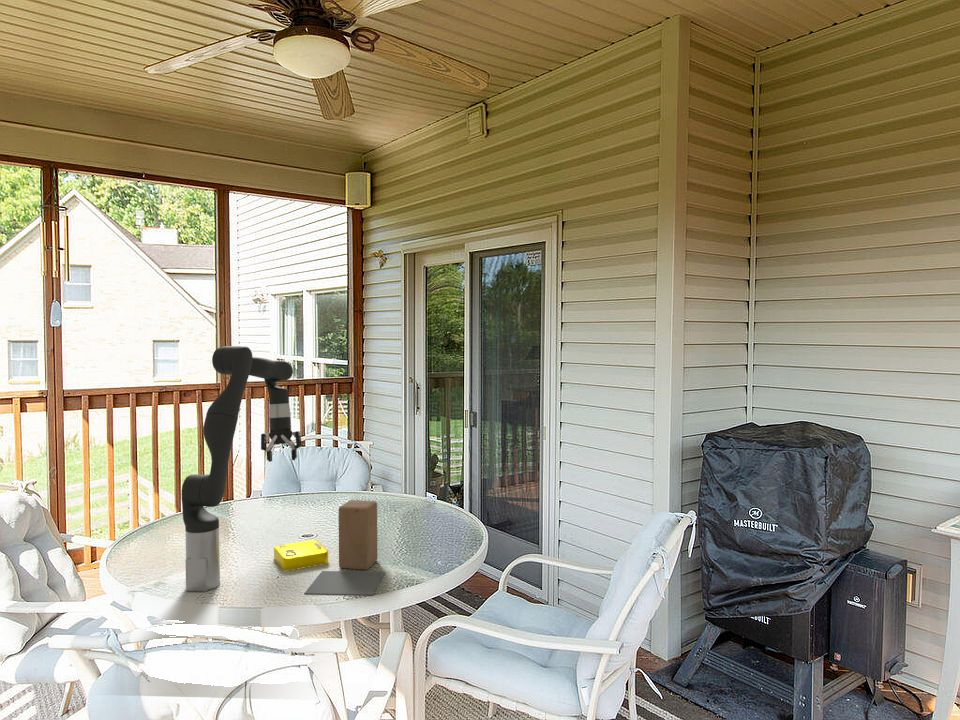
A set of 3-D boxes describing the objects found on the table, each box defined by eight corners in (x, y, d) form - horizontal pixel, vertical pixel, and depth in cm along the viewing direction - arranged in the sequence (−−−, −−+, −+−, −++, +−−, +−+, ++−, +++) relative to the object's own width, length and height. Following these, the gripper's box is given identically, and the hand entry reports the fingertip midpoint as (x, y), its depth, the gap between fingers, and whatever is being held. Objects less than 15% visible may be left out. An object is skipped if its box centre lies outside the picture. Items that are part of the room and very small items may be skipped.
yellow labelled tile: (330, 564, 216) (329, 550, 216) (283, 572, 208) (283, 557, 208) (317, 551, 229) (316, 537, 229) (272, 558, 221) (272, 544, 221)
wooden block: (367, 571, 208) (366, 508, 208) (337, 568, 210) (337, 506, 210) (378, 560, 218) (378, 500, 217) (350, 558, 220) (349, 499, 219)
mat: (373, 595, 189) (373, 594, 189) (304, 594, 190) (304, 593, 190) (384, 572, 207) (384, 571, 207) (322, 571, 208) (322, 570, 208)
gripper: (256, 418, 238) (259, 463, 237) (296, 415, 238) (298, 460, 237) (264, 417, 246) (266, 461, 245) (302, 414, 245) (304, 458, 244)
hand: (282, 460), depth 241 cm, fingers open, 8 cm apart
